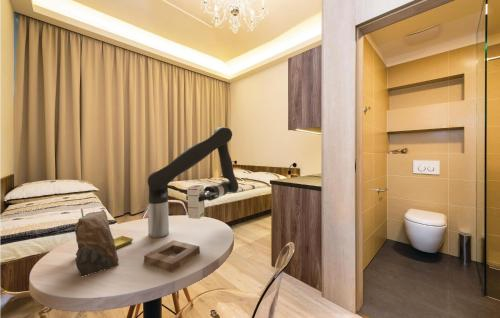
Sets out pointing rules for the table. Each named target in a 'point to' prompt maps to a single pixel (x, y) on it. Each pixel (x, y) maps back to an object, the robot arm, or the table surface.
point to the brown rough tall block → (95, 244)
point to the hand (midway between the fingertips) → (192, 198)
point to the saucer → (122, 241)
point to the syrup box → (195, 202)
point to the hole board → (172, 263)
